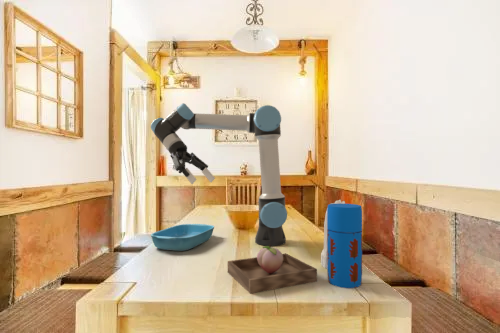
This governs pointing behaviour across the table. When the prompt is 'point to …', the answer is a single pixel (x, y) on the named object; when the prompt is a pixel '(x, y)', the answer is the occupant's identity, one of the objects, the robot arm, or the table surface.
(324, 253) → the decorative vase
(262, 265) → the decorative fruit
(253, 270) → the walnut tray
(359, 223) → the thermos
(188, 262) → the table surface
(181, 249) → the casserole dish
